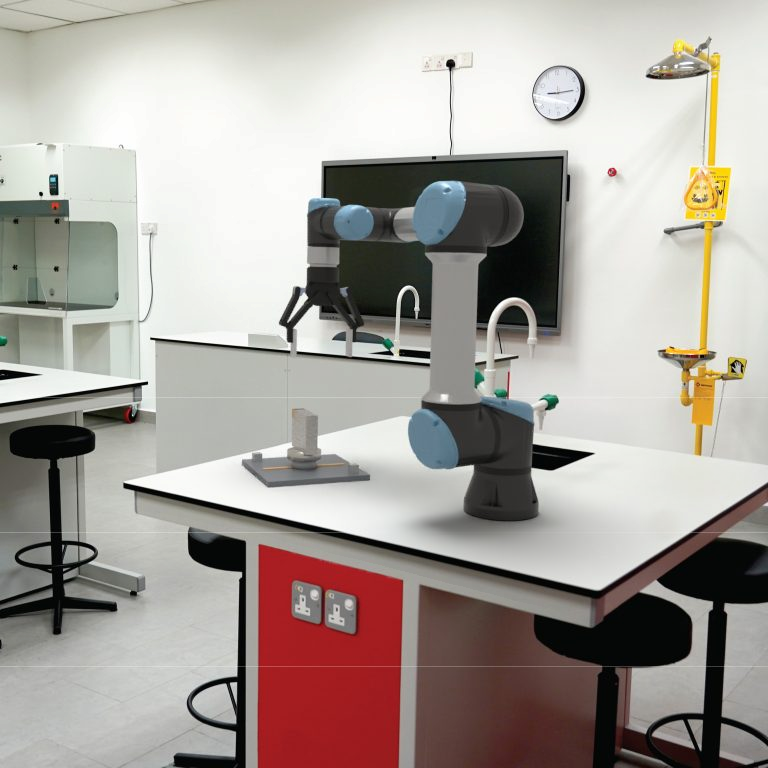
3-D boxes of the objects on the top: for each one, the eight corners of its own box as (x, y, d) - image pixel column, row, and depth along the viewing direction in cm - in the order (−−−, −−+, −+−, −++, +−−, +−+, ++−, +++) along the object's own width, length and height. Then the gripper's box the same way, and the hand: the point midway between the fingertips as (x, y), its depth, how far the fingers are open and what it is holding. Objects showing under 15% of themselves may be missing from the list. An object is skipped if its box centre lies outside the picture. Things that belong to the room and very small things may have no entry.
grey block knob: (327, 462, 210) (328, 415, 208) (294, 464, 207) (295, 416, 205) (313, 452, 220) (313, 407, 219) (281, 454, 217) (281, 409, 215)
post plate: (369, 479, 207) (370, 466, 207) (268, 487, 198) (268, 473, 198) (335, 458, 229) (335, 446, 229) (242, 464, 220) (242, 451, 220)
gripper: (368, 267, 219) (366, 354, 222) (266, 264, 210) (265, 355, 213) (378, 267, 212) (376, 357, 215) (274, 264, 203) (273, 358, 206)
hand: (321, 356), depth 214 cm, fingers open, 13 cm apart
